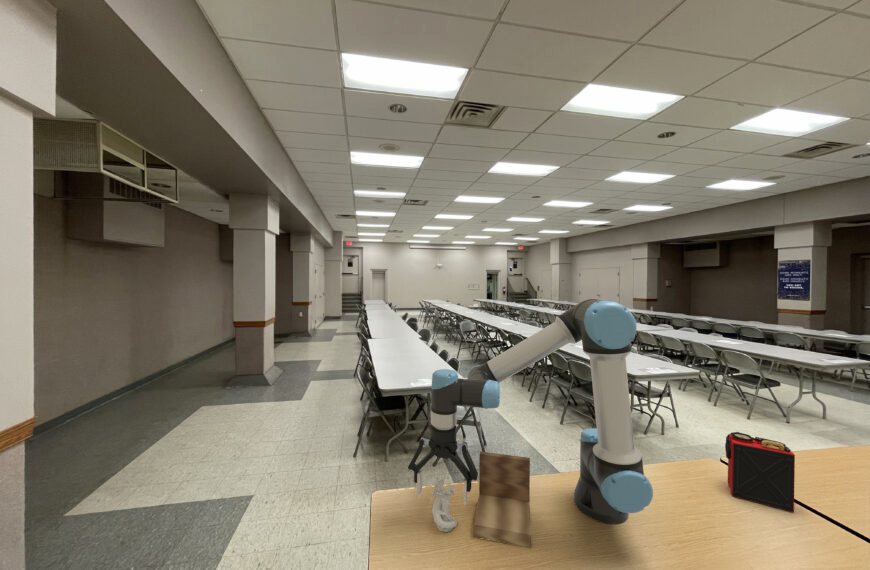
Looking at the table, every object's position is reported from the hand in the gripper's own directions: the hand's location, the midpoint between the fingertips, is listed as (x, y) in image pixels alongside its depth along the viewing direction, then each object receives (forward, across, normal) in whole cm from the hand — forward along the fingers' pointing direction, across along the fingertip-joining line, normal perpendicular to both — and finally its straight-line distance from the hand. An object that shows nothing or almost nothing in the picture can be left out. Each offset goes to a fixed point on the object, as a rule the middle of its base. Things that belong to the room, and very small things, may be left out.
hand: (442, 497), depth 96 cm
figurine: (+7, 0, 0) cm, 7 cm away
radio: (+6, -97, -36) cm, 104 cm away
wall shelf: (+7, -17, -4) cm, 19 cm away
